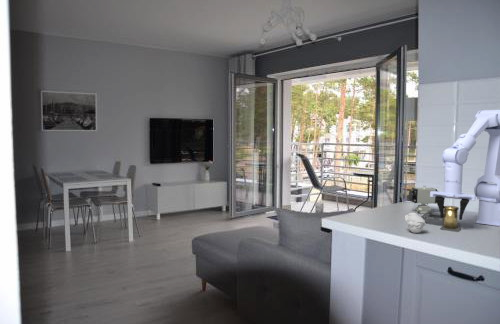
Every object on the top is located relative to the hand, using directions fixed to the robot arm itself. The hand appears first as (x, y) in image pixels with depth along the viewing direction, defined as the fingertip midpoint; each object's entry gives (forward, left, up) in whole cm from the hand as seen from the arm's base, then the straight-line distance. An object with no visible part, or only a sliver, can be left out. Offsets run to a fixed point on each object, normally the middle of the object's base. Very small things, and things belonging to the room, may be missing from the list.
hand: (451, 218), depth 142 cm
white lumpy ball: (+9, +14, -4) cm, 17 cm away
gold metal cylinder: (0, 0, -4) cm, 4 cm away
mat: (0, 0, -4) cm, 4 cm away
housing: (+6, -10, -4) cm, 13 cm away
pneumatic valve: (+14, -24, -4) cm, 29 cm away
